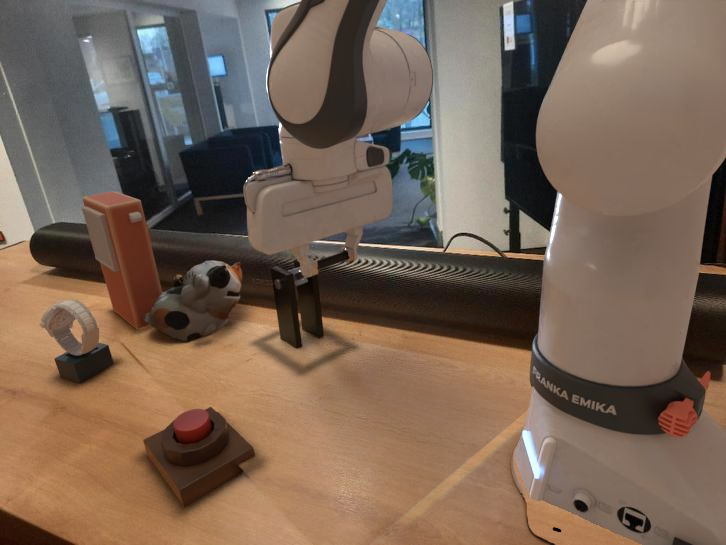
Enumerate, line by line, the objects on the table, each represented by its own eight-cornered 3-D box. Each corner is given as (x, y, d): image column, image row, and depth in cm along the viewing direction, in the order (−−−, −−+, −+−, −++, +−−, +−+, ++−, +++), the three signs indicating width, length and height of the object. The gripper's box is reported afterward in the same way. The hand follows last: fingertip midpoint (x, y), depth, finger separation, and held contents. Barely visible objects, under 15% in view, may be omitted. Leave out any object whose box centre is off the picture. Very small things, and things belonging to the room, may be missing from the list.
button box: (256, 464, 52) (251, 433, 51) (184, 507, 48) (175, 475, 46) (214, 421, 59) (208, 393, 58) (147, 455, 55) (138, 426, 53)
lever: (350, 263, 64) (343, 246, 64) (319, 274, 61) (312, 256, 61) (307, 282, 74) (301, 267, 74) (279, 293, 71) (272, 277, 71)
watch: (86, 355, 76) (65, 290, 72) (121, 365, 73) (102, 297, 69) (51, 374, 72) (27, 306, 68) (87, 386, 68) (64, 315, 64)
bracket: (351, 347, 74) (344, 267, 69) (301, 371, 68) (290, 287, 63) (304, 322, 82) (295, 249, 77) (257, 342, 77) (244, 265, 72)
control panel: (143, 298, 96) (176, 320, 86) (105, 310, 92) (135, 336, 81) (116, 189, 88) (148, 199, 78) (73, 197, 84) (101, 209, 74)
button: (217, 432, 52) (215, 418, 51) (185, 449, 50) (181, 435, 49) (203, 417, 54) (200, 404, 54) (171, 433, 52) (167, 419, 52)
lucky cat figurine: (183, 307, 90) (209, 238, 88) (238, 337, 88) (267, 267, 86) (126, 323, 76) (155, 241, 73) (191, 359, 74) (223, 276, 71)
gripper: (256, 176, 50) (274, 300, 55) (398, 147, 62) (402, 251, 67) (227, 170, 54) (246, 286, 59) (365, 145, 67) (371, 242, 72)
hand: (330, 267), depth 63 cm, fingers closed on lever, 5 cm apart
